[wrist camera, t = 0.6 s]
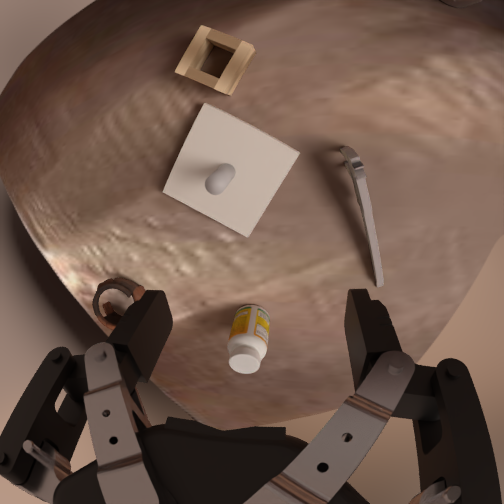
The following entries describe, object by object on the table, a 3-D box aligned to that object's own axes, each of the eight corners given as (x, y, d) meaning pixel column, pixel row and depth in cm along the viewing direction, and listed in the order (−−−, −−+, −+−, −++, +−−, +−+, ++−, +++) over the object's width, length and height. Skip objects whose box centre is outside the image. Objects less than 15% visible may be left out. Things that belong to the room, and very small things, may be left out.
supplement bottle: (273, 307, 42) (269, 355, 33) (266, 332, 44) (261, 380, 36) (237, 300, 42) (226, 347, 33) (232, 326, 44) (221, 372, 36)
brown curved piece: (95, 291, 45) (76, 298, 37) (135, 262, 47) (121, 265, 38) (133, 346, 46) (120, 363, 38) (173, 320, 48) (167, 334, 39)
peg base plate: (207, 103, 30) (187, 101, 23) (298, 151, 31) (303, 162, 25) (166, 188, 35) (141, 208, 28) (249, 232, 37) (241, 261, 30)
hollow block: (210, 33, 25) (201, 25, 22) (256, 53, 26) (252, 45, 23) (186, 75, 28) (174, 72, 25) (230, 95, 29) (224, 93, 25)
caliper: (337, 147, 31) (349, 155, 25) (346, 145, 31) (360, 152, 25) (376, 285, 39) (387, 312, 33) (382, 283, 38) (395, 310, 33)
